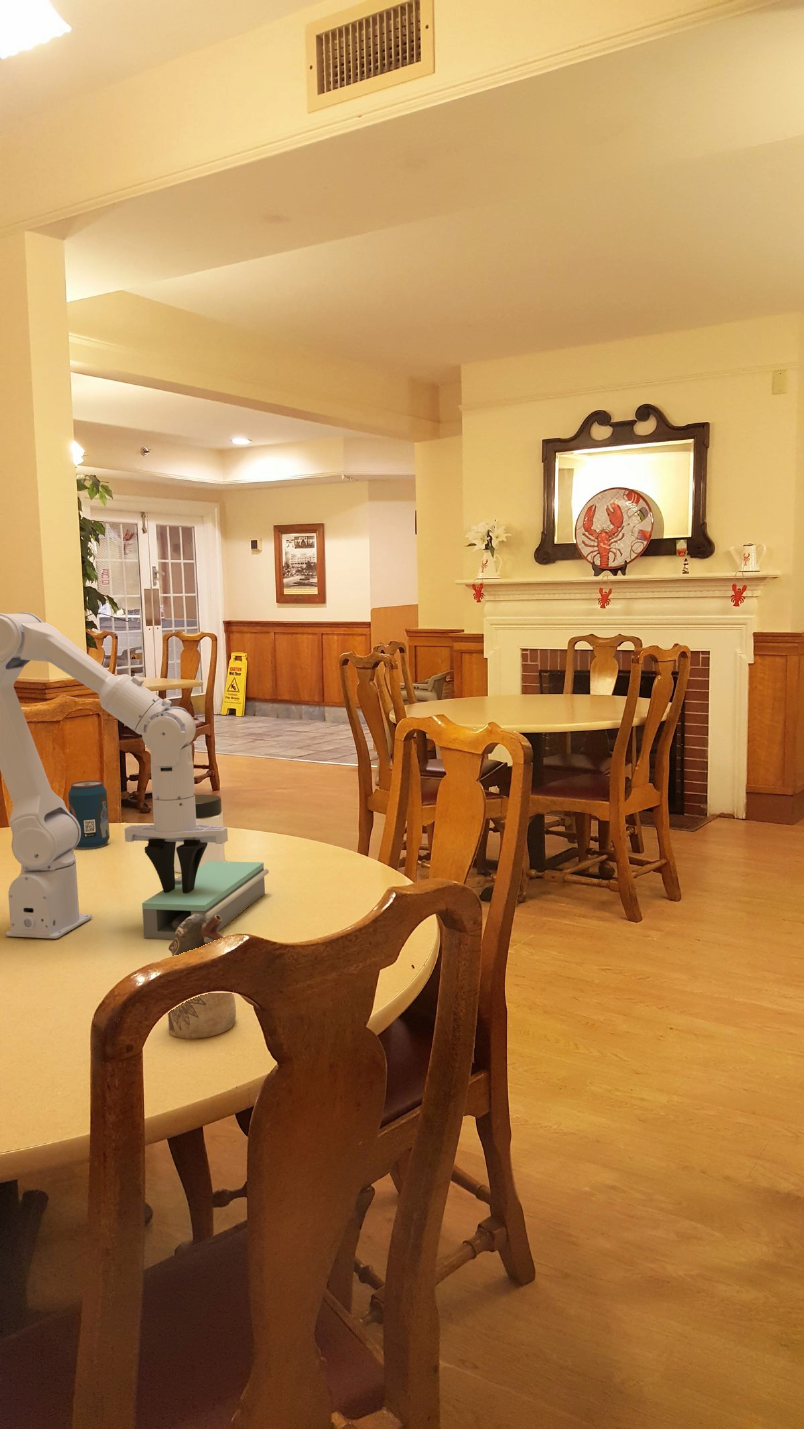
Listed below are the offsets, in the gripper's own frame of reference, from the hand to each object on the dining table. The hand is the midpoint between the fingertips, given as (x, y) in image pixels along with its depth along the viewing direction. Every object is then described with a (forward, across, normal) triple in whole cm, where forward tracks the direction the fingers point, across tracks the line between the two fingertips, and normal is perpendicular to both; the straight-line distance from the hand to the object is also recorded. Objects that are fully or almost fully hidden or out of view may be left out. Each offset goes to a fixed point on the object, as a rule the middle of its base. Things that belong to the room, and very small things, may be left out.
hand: (179, 892), depth 139 cm
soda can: (+5, +38, -42) cm, 57 cm away
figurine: (+5, -17, +31) cm, 36 cm away
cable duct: (+5, -2, -5) cm, 7 cm away
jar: (+5, +10, -29) cm, 31 cm away
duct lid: (+1, -2, -5) cm, 5 cm away
